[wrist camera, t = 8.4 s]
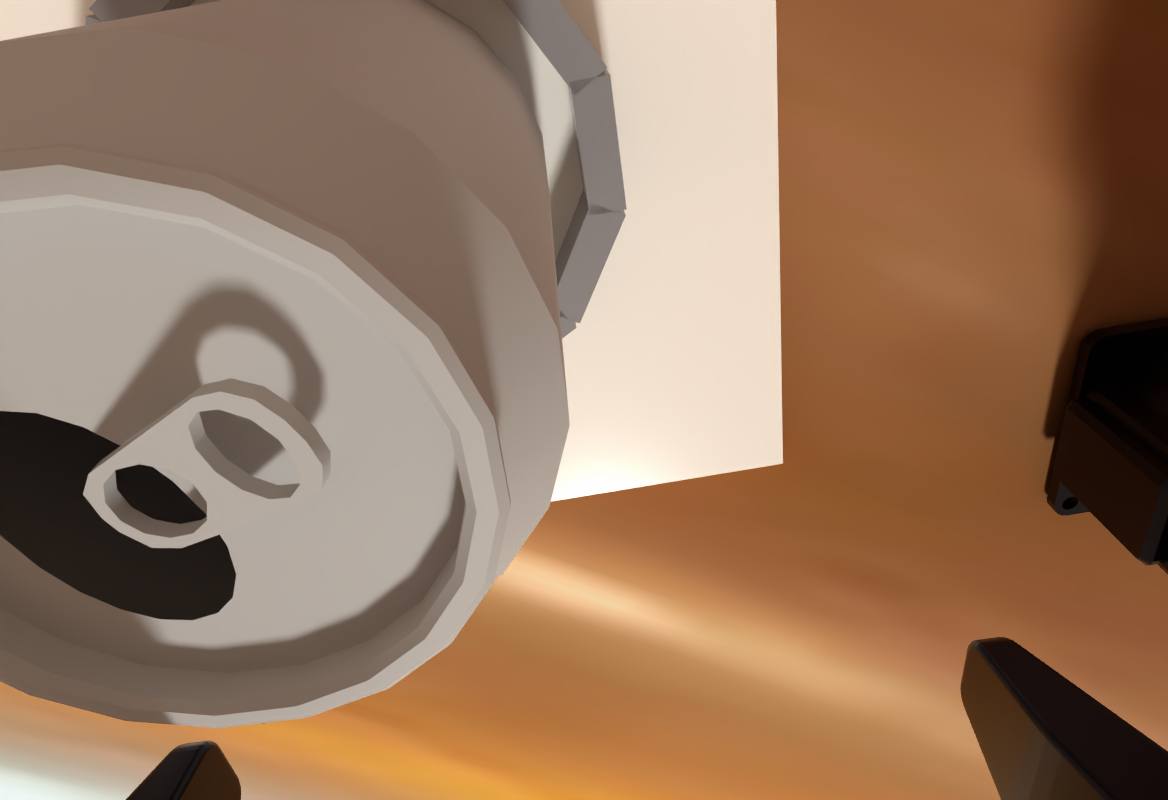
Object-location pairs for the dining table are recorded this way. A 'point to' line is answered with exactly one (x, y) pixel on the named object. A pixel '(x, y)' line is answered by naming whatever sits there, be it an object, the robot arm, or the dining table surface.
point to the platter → (634, 219)
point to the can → (265, 353)
